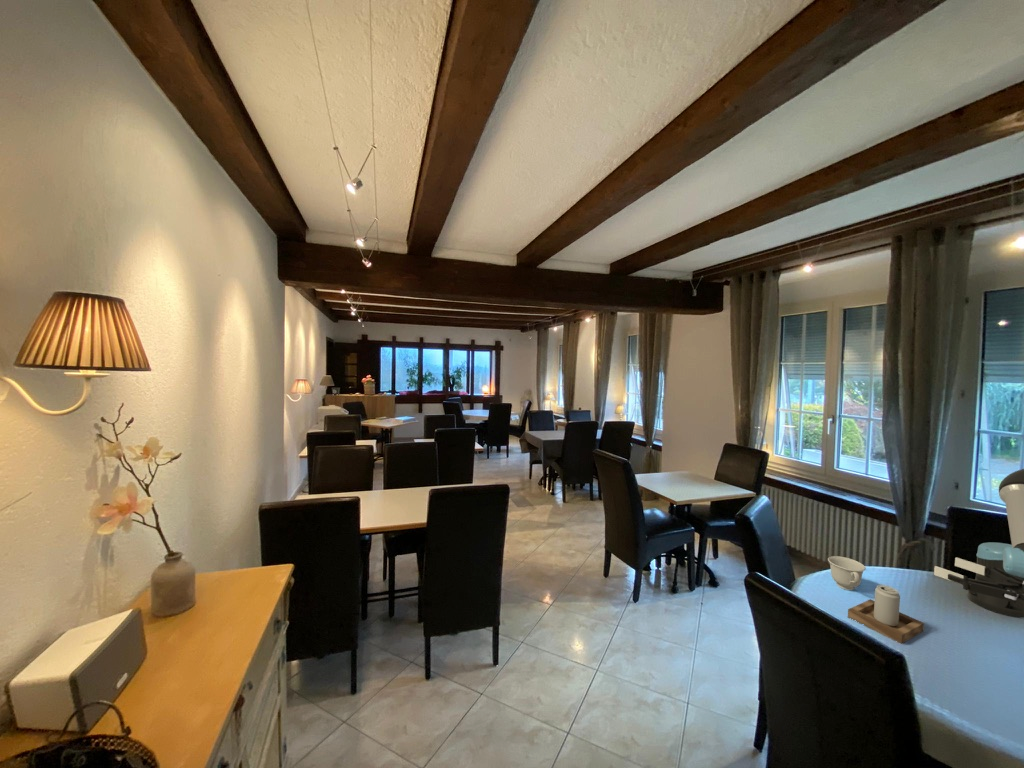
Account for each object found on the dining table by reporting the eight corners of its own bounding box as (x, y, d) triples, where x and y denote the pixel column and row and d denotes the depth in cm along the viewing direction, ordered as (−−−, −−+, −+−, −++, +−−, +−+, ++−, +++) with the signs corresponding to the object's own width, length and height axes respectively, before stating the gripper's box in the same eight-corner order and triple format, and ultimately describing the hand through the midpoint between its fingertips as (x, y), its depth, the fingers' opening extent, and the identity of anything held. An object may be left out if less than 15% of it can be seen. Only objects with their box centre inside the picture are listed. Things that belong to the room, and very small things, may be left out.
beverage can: (872, 613, 145) (874, 581, 144) (896, 620, 141) (898, 588, 140) (874, 622, 140) (876, 589, 139) (899, 630, 136) (901, 596, 135)
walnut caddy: (869, 606, 150) (870, 599, 150) (923, 631, 137) (924, 622, 137) (847, 617, 144) (848, 609, 144) (901, 644, 131) (901, 635, 130)
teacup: (838, 596, 157) (839, 571, 157) (821, 576, 172) (822, 554, 171) (875, 601, 154) (876, 576, 153) (855, 581, 168) (856, 558, 167)
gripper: (1033, 628, 104) (925, 585, 124) (1069, 604, 114) (962, 568, 134) (1036, 600, 104) (926, 562, 123) (1071, 579, 114) (964, 547, 133)
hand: (945, 565), depth 128 cm, fingers open, 13 cm apart
